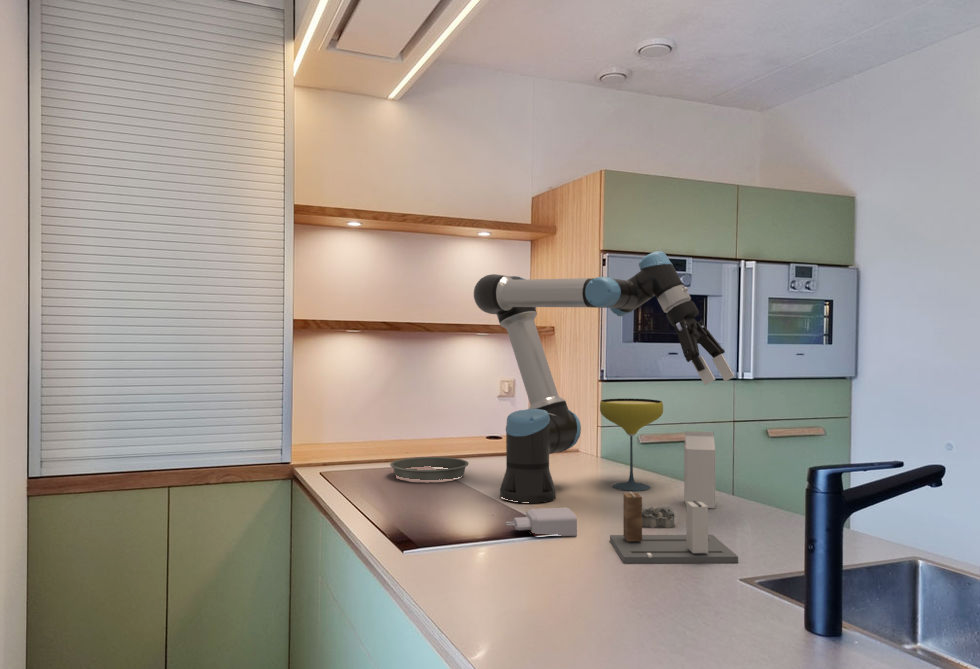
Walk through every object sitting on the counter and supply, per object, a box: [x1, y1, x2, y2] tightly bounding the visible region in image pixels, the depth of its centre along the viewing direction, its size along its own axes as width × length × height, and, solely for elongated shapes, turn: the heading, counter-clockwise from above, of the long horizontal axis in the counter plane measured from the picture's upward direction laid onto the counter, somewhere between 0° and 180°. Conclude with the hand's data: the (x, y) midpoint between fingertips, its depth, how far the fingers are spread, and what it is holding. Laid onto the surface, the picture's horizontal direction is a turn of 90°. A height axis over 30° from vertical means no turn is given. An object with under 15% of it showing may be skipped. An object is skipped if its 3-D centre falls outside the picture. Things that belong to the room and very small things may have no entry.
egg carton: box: [642, 505, 677, 529], centre depth 162 cm, size 11×8×4 cm
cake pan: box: [389, 456, 469, 480], centre depth 219 cm, size 25×25×4 cm
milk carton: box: [683, 430, 716, 509], centre depth 180 cm, size 7×7×19 cm
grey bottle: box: [504, 507, 578, 537], centre depth 155 cm, size 5×9×15 cm
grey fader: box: [685, 500, 709, 553], centre depth 137 cm, size 3×4×9 cm
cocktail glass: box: [599, 398, 664, 492], centre depth 202 cm, size 18×18×25 cm
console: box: [609, 534, 739, 564], centre depth 141 cm, size 22×15×2 cm
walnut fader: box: [622, 491, 643, 541], centre depth 145 cm, size 3×4×9 cm
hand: (720, 380), depth 171 cm, fingers open, 13 cm apart
